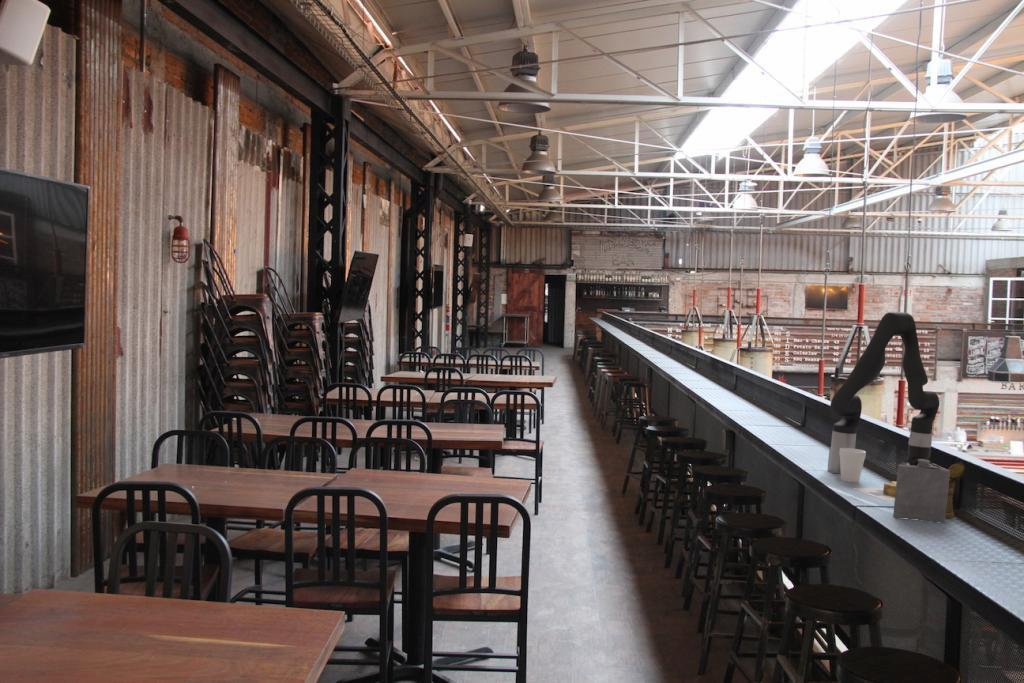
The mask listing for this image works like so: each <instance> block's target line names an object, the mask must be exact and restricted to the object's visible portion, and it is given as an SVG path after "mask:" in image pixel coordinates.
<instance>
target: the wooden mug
mask: <svg viewBox="0 0 1024 683" xmlns="http://www.w3.org/2000/svg"><path fill="white" fill-rule="evenodd" d="M947 469H948V470H950V478H949V488H948V498H947V507H946V517H945V519H953V518H954V517H955V513H954V510H953V509H954V508H953V506H954V505H953V495H954V493H955V492H954V491H955V481H956V480H959V479H961V478H962V477H963V476H964V475H965V472H966V466H965V464H964V463H963V462H956V463H954V464H952V465H950V466H949V467H948V468H947Z"/></svg>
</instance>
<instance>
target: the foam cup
mask: <svg viewBox="0 0 1024 683" xmlns="http://www.w3.org/2000/svg"><path fill="white" fill-rule="evenodd" d="M839 455H840V470H841V474H840V481H841V482H849V483H860V479H861V476H862V475H861V474H862V471H863V466H864V462H865V459H866V455H867V451H865V450H864V449H863V450H862V449H858V448H855V449H853V448H840V452H839Z"/></svg>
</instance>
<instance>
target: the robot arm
mask: <svg viewBox="0 0 1024 683" xmlns="http://www.w3.org/2000/svg"><path fill="white" fill-rule="evenodd" d="M896 336H897V337H900V338H901V341H902V344H903V349H904V352H903V356H902V357H903V358H902V369H903V373H904V376H905V380H906V382H907V399H908V402H909V405H910V407H912V408H913V409H914V410H916V411H920V412H919V414H917V415H915V416H912V418H911V424H910V433H909V437H908V446H907V455H908V459H907V462H906V463H905V464H904V465H913V466H919V465H918V463H919V462H918V459H924V460H929V459H930V458H931V452H932V441H933V439H932V438H933V437H932V435H933V434H932V433H933V423H934V422H935V421H934V420H935V418H936V416H937V413H938V410H939V407H940V397H939V396H938V394H937V393H936V392H935V391H932V390H931V391H930V390H929V391H928V390H924V386H925V385H927V384H928V382H929V379H928V375H927V372H926V369H925V366H924V364H923V360H922V356H921V353H920V352H921V351H920V344H919V339H918V338H919V337H918V332H917V327H916V321H915V318H914V316H913V315H912V314H910V313H908V312H903V311H890V312H887V313H885V314H884V315H883V316H882V318H881V319H880V321H879V322H878V324H877V327H876V329H875V331H874V333H873V335H872V338H871V339H870V341H869V343H868V344H867V346H866V348H865V349H864V351H863V352H862V354H861V356H860V357H859V359H858V361H857V362H856V364H855V366H854V368H853V369H852V370H851V371H850V374H849V375H848V376H847V378H846V379H845V381H844V382H843V383H842V385H841V386H840V387H839V389H838V390H837V391H836V392H835V394H834V395H833V396H832V399H831V401H830V406H829V407H830V411H831V412H832V414H834V415H836V416H841V417H842V418H841V419H840V420H839V421H837V422H835V423H833V425H832V434H831V442H830V443H831V444H830V445H831V446H830V447H829V450H828V451H829V452H828V460H827V471H828V472H830V471H831V472H830V473H833V474H837V473H838V474H837V475H841V470H840V455H839V452H840V448H853V449H856V442H857V439H856V438H857V432H858V428H860V427H859V426H860V423H861V416H862V407H863V406H862V405H863V404H862V403H863V402H862V400H861V398H860V396H859V395H857V393H858V392H859V391H861V390H862V389H863V388H865V387H867V386H868V385H869V384H871V383H872V382H873V381H875V380H876V378H878V376H879V374H880V373H881V372H882V370H883V368H884V367H885V364H886V348H887V345H888V344H889V343H890V341H891V340H892V338H894V337H896ZM929 466H931V465H930V464H929Z"/></svg>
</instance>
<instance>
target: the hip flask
mask: <svg viewBox="0 0 1024 683" xmlns="http://www.w3.org/2000/svg"><path fill="white" fill-rule="evenodd" d="M918 462H919V463H918V465H919V466H913V465H905V464H897V473H896V481H897V482H896V492H895V501H893V503H894V504H893V514H892V517H893V518H894V517H895V519H898V518H908V519H907V520H910V519H918V520H917V521H920V520H923V521H922V522H929V521H932V522H931V523H936V522H940V523H939V524H945V523H946V518H945V517H946V507H947V498H948V488H949V478H950V470H948V468H947V469H946V468H942V467H941V468H940V467H937V466H932V465H930V464H931V460H929V459H928V460H924V459H918ZM929 465H930V466H929Z"/></svg>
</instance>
